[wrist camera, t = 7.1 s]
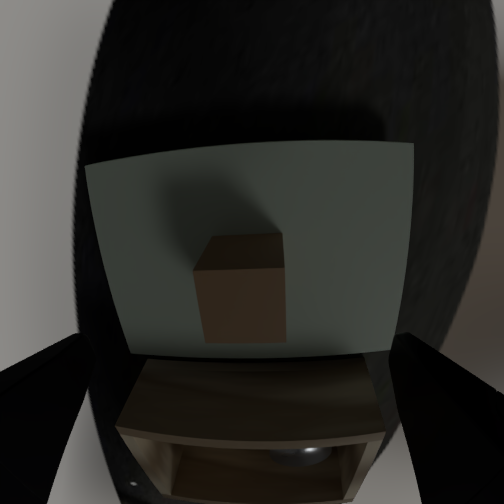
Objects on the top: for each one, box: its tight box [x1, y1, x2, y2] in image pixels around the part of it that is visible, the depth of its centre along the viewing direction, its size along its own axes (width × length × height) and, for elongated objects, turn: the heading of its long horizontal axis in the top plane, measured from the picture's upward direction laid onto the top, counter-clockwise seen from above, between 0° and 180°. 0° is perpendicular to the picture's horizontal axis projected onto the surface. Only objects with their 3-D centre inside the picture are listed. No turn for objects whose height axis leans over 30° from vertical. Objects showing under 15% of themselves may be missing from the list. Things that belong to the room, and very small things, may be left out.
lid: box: [85, 140, 414, 358], centre depth 13 cm, size 11×15×6 cm
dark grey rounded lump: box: [269, 447, 332, 467], centre depth 18 cm, size 4×4×3 cm
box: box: [115, 357, 386, 504], centre depth 18 cm, size 10×14×6 cm
